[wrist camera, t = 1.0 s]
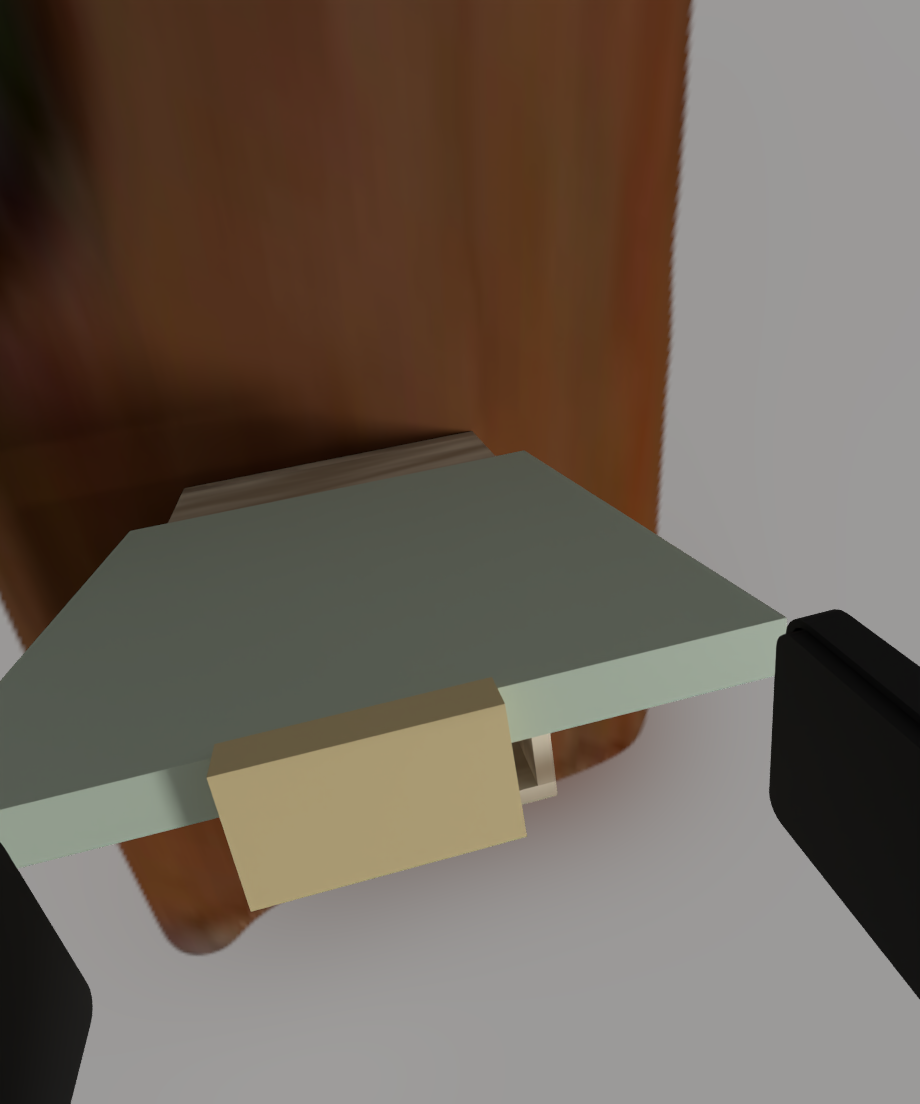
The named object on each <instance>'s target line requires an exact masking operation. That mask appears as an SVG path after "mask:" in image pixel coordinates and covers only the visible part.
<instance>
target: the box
mask: <svg viewBox="0 0 920 1104" xmlns="http://www.w3.org/2000/svg"><path fill="white" fill-rule="evenodd" d="M490 457H495V455H494V454H493V453H492V452H491V451H490V450H489V449H488V448H487V447H486V446H485V445H484V444H483V442H482V441H481V440H480V439H479V438H478V437H477V436H476V435H475V434H474V433H473V432H472V431H470V432H465V433H460V434H455V435H450V436H445V437H440V438H435V439H430V440H425V441H420V442H415V443H410V444H405V445H400V446H395V447H390V448H385V449H380V450H375V451H370V452H365V453H360V454H355V455H350V456H344V457H339V458H334V459H329V460H324V461H319V462H314V463H309V464H304V465H299V466H294V467H289V468H284V469H279V470H274V471H269V472H264V473H259V474H254V475H249V476H244V477H239V478H234V479H229V480H224V481H219V482H214V483H209V484H204V485H199V486H194V487H189V488H184V490H183V492H182V494H181V496H180V498H179V500H178V503H177V505H176V507H175V509H174V511H173V513H172V515H171V518H170V520H169V522H168V523H172V522H176V521H181V520H186V519H191V518H196V517H201V516H206V515H211V514H216V513H221V512H225V511H230V510H235V509H240V508H245V507H250V506H255V505H260V504H265V503H270V502H274V501H279V500H284V499H289V498H294V497H299V496H304V495H309V494H314V493H319V492H323V491H328V490H333V489H338V488H343V487H348V486H353V485H358V484H363V483H368V482H372V481H377V480H382V479H387V478H392V477H397V476H402V475H407V474H412V473H417V472H421V471H426V470H431V469H436V468H441V467H446V466H451V465H456V464H461V463H466V462H470V461H475V460H480V459H485V458H490ZM512 749H513V755H514V761H515V767H516V773H517V779H518V785H519V791H520V797H521V803H522V805H523V804H527V803H530V802H534V801H538V800H542V799H546V798H549V797H553V796H557V787H556V779H555V770H554V762H553V754H552V745H551V737H550V733H548V734H544V735H541V736H537V737H533V738H529V739H525V740H521V741H517V742H513V743H512Z"/></svg>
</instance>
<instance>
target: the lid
mask: <svg viewBox="0 0 920 1104" xmlns="http://www.w3.org/2000/svg"><path fill="white" fill-rule="evenodd" d="M786 629H787V618H786V617H785V616H783V615H782V614H780V613H779V612H777V611H775V610H774V609H772V608H771V607H769V606H768V605H766V604H764V603H763V602H761V601H760V600H758V599H757V598H755V597H753V596H751V595H750V594H748V593H747V592H746V591H744V590H742V589H741V588H739V587H737V586H736V585H734V584H733V583H731V582H730V581H728V580H727V579H725V578H724V577H722V576H720V575H719V574H717V573H716V572H714V571H713V570H711V569H709V568H708V567H706V566H705V565H703V564H702V563H700V562H698V561H697V560H695V559H694V558H692V557H691V556H689V555H687V554H686V553H684V552H683V551H681V550H680V549H678V548H676V547H675V546H673V545H672V544H670V543H668V542H667V541H665V540H664V539H662V538H661V537H659V536H658V535H656V534H654V533H653V532H651V531H650V530H648V529H647V528H645V527H643V526H642V525H640V524H639V523H637V522H636V521H634V520H632V519H631V518H629V517H628V516H626V515H625V514H623V513H621V512H620V511H618V510H617V509H615V508H614V507H612V506H610V505H609V504H607V503H606V502H604V501H603V500H601V499H599V498H598V497H596V496H595V495H593V494H592V493H590V492H588V491H587V490H585V489H584V488H582V487H581V486H579V485H577V484H576V483H574V482H573V481H571V480H570V479H568V478H566V477H565V476H563V475H562V474H560V473H559V472H557V471H555V470H554V469H552V468H551V467H549V466H548V465H546V464H544V463H543V462H541V461H540V460H538V459H537V458H535V457H533V456H532V455H530V454H529V453H527V452H526V451H519V452H515V453H510V454H505V455H500V456H495V457H490V458H485V459H480V460H475V461H470V462H466V463H461V464H456V465H451V466H446V467H441V468H436V469H431V470H426V471H421V472H417V473H412V474H407V475H402V476H397V477H392V478H387V479H382V480H377V481H372V482H368V483H363V484H358V485H353V486H348V487H343V488H338V489H333V490H328V491H323V492H319V493H314V494H309V495H304V496H299V497H294V498H289V499H284V500H279V501H274V502H270V503H265V504H260V505H255V506H250V507H245V508H240V509H235V510H230V511H225V512H221V513H216V514H211V515H206V516H201V517H196V518H191V519H186V520H181V521H176V522H172V523H167V524H162V525H157V526H152V527H147V528H142V529H137V530H132V531H130V532H129V533H128V534H127V535H126V536H125V537H124V539H123V540H122V541H121V542H120V543H119V544H118V545H117V547H116V548H115V549H114V550H113V551H112V552H111V554H110V555H109V556H108V557H107V558H106V559H105V561H104V562H103V563H102V564H101V565H100V566H99V567H98V569H97V570H96V571H95V572H94V573H93V574H92V576H91V577H90V578H89V579H88V580H87V581H86V582H85V584H84V585H83V586H82V587H81V588H80V589H79V591H78V592H77V593H76V594H75V595H74V596H73V597H72V599H71V600H70V601H69V602H68V603H67V604H66V606H65V607H64V608H63V609H62V610H61V611H60V613H59V614H58V615H57V616H56V617H55V618H54V619H53V621H52V622H51V623H50V624H49V625H48V626H47V628H46V629H45V630H44V631H43V632H42V633H41V634H40V636H39V637H38V638H37V639H36V640H35V641H34V643H33V644H32V645H31V646H30V647H29V648H28V650H27V651H26V652H25V653H24V654H23V655H22V656H21V658H20V659H19V660H18V661H17V662H16V663H15V665H14V666H13V667H12V668H11V669H10V670H9V672H8V673H7V674H6V675H5V676H4V677H3V678H2V680H1V681H0V842H1V844H2V845H3V846H4V848H5V849H6V851H7V853H8V854H9V856H10V858H11V859H12V861H13V862H14V864H15V866H16V867H17V869H18V868H21V867H26V866H30V865H34V864H37V863H41V862H45V861H49V860H53V859H57V858H61V857H65V856H69V855H72V854H77V853H81V852H85V851H88V850H92V849H96V848H100V847H104V846H108V845H112V844H116V843H120V842H124V841H128V840H132V839H136V838H140V837H144V836H148V835H151V834H155V833H159V832H163V831H167V830H171V829H175V828H179V827H183V826H187V825H191V824H195V823H199V822H203V821H206V820H210V819H214V818H218V817H220V820H221V823H222V826H223V829H224V832H225V835H226V838H227V841H228V844H229V847H230V850H231V853H232V856H233V859H234V862H235V865H236V868H237V871H238V874H239V877H240V880H241V883H242V886H243V889H244V892H245V895H246V898H247V901H248V904H249V907H250V910H251V911H255V910H259V909H262V908H266V907H270V906H273V905H277V904H281V903H285V902H288V901H292V900H295V899H299V898H303V897H306V896H310V895H314V894H317V893H321V892H324V891H329V890H332V889H336V888H340V887H343V886H347V885H350V884H354V883H358V882H362V881H365V880H369V879H373V878H376V877H380V876H384V875H388V874H391V873H394V872H398V871H402V870H406V869H410V868H413V867H417V866H421V865H424V864H428V863H431V862H436V861H439V860H443V859H447V858H450V857H454V856H457V855H461V854H465V853H469V852H472V851H476V850H480V849H483V848H487V847H490V846H494V845H498V844H502V843H505V842H509V841H513V840H516V839H520V838H524V837H527V834H526V828H525V822H524V816H523V810H522V803H521V797H520V791H519V785H518V779H517V773H516V767H515V761H514V755H513V749H512V743H513V742H517V741H521V740H525V739H529V738H533V737H537V736H541V735H544V734H548V733H552V732H556V731H560V730H564V729H568V728H572V727H576V726H580V725H584V724H588V723H592V722H596V721H600V720H603V719H607V718H611V717H615V716H619V715H623V714H627V713H631V712H635V711H639V710H643V709H647V708H651V707H655V706H658V705H662V704H666V703H670V702H674V701H677V700H682V699H686V698H690V697H694V696H698V695H702V694H706V693H709V692H713V691H717V690H721V689H725V688H729V687H733V686H737V685H741V684H745V683H749V682H753V681H756V680H761V679H765V678H768V677H772V676H775V660H776V644H777V640H778V638H779V636H781V635H783V634H786Z"/></svg>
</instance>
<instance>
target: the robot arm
mask: <svg viewBox="0 0 920 1104" xmlns="http://www.w3.org/2000/svg"><path fill="white" fill-rule="evenodd" d="M769 794H770V801H771V804H772V807H773V810H774V812H775V814H776V816H777V818H778V819H779V821H780V822H781V824H782V825H783V827H784V828H785V829H786V830H787V832H788V833H789V834H790V835H791V837H792V838H793V839H794V840H795V842H796V843H797V844H798V846H799V847H800V848H801V849H802V851H803V852H804V853H805V854H806V856H807V857H808V858H809V859H810V861H811V862H812V863H813V865H814V866H815V867H816V868H817V870H818V871H819V872H820V873H821V875H822V876H823V877H824V879H825V880H826V881H827V882H828V883H829V885H830V886H831V887H832V889H833V890H834V891H835V892H836V894H837V895H838V896H839V898H840V899H841V900H842V901H843V903H844V904H845V905H846V906H847V908H848V909H849V910H850V911H851V913H852V914H853V915H854V916H855V918H856V919H857V920H858V922H859V923H860V924H861V925H862V927H863V928H864V929H865V930H866V932H867V933H868V934H869V936H870V937H871V938H872V939H873V941H874V942H875V943H876V944H877V946H878V947H879V948H880V949H881V951H882V952H883V953H884V955H885V956H886V957H887V958H888V960H889V961H890V962H891V963H892V964H893V966H894V967H895V969H896V970H897V971H898V972H899V974H900V975H901V976H902V977H903V979H904V980H905V981H906V982H907V984H908V985H909V986H910V988H911V989H912V990H913V991H914V993H915V994H916V995H917V996H918V998H919V999H920V666H918V665H917V664H915V663H914V662H912V661H911V660H910V659H908V658H907V657H906V656H904V655H903V654H902V653H900V652H899V651H898V650H896V649H895V648H894V647H892V646H891V645H889V644H888V643H887V642H886V641H884V640H883V639H881V638H880V637H879V636H877V635H876V634H874V633H873V632H872V631H871V630H869V629H868V628H866V627H865V626H864V625H862V624H861V623H860V622H858V621H857V620H856V619H854V618H853V617H852V616H850V615H849V614H847V613H845V612H844V611H842V610H835V609H834V610H830V611H826V612H822V613H818V614H814V615H810V616H806V617H802V618H798V619H795V620H793V621H791V622H790V623H789V625H788V626H787V629H786V634H783V635H781V636H779V638H778V640H777V644H776V660H775V681H774V702H773V723H772V745H771V767H770V787H769ZM91 1018H92V996H91V992H90V989H89V986H88V984H87V983H86V981H85V979H84V977H83V976H82V974H81V973H80V971H79V969H78V968H77V966H76V964H75V963H74V961H73V959H72V958H71V956H70V954H69V953H68V951H67V950H66V948H65V946H64V945H63V943H62V941H61V940H60V938H59V936H58V935H57V933H56V932H55V930H54V928H53V926H52V925H51V923H50V922H49V920H48V918H47V917H46V915H45V913H44V912H43V910H42V908H41V907H40V905H39V904H38V902H37V900H36V899H35V897H34V895H33V894H32V892H31V890H30V889H29V887H28V886H27V884H26V882H25V881H24V879H23V878H22V876H21V874H20V872H19V871H18V869H17V867H16V866H15V864H14V862H13V861H12V859H11V858H10V856H9V854H8V853H7V851H6V849H5V848H4V846H3V845H2V844H1V842H0V1104H71V1099H72V1096H73V1092H74V1088H75V1084H76V1080H77V1076H78V1071H79V1068H80V1064H81V1060H82V1055H83V1052H84V1048H85V1044H86V1040H87V1036H88V1032H89V1028H90V1023H91Z"/></svg>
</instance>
